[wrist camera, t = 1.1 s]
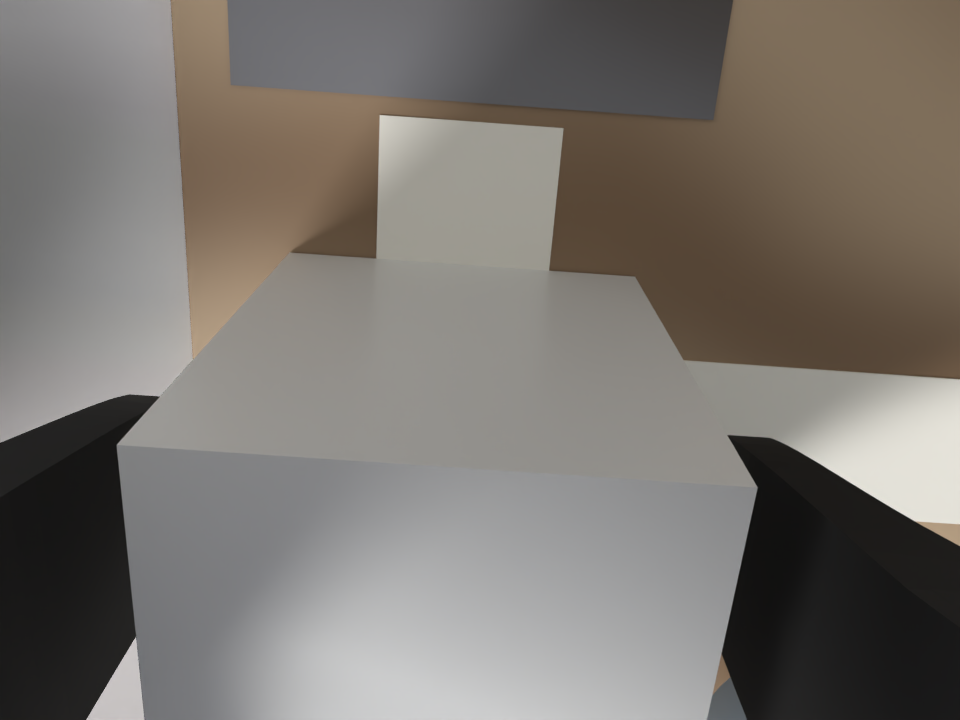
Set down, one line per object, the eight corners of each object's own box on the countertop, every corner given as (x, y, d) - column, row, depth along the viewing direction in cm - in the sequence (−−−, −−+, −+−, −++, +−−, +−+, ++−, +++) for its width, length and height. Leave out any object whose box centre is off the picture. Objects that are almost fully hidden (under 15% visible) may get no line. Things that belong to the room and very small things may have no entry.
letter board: (926, 851, 17) (935, 868, 16) (226, 809, 17) (221, 824, 16) (1538, -797, 8) (1581, -831, 8) (124, -923, 8) (109, -962, 8)
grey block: (593, 565, 14) (662, 922, 8) (294, 546, 14) (162, 893, 8) (634, 276, 12) (757, 487, 7) (289, 253, 12) (115, 445, 6)
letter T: (946, 681, 15) (947, 683, 15) (367, 645, 15) (367, 647, 15) (1123, 168, 12) (1125, 169, 12) (380, 114, 11) (379, 114, 11)
